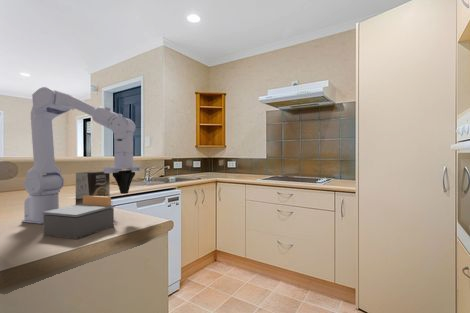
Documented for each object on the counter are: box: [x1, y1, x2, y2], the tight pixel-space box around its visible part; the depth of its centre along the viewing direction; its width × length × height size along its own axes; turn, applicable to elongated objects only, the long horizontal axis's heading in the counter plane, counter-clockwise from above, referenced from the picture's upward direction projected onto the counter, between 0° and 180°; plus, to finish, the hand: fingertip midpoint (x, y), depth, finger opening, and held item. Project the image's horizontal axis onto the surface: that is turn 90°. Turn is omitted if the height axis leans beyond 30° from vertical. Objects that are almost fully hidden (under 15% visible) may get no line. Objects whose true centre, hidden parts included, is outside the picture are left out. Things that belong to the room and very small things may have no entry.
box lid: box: [42, 195, 115, 217], centre depth 67 cm, size 12×12×3 cm
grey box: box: [43, 207, 115, 240], centre depth 67 cm, size 12×12×6 cm
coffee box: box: [75, 170, 111, 205], centre depth 82 cm, size 9×6×16 cm
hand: (124, 193), depth 78 cm, fingers closed
